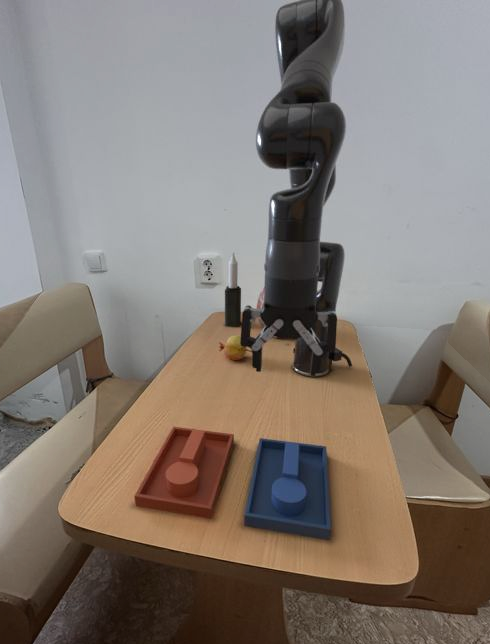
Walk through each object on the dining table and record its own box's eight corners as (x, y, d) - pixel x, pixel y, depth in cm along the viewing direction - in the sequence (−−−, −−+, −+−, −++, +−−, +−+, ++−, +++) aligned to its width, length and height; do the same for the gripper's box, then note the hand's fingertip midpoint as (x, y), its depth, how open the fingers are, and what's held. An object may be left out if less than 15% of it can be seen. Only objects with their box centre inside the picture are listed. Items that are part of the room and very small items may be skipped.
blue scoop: (276, 456, 68) (277, 440, 66) (305, 460, 67) (307, 444, 65) (269, 513, 56) (270, 495, 55) (304, 519, 55) (306, 501, 54)
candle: (238, 327, 129) (239, 254, 119) (224, 326, 130) (224, 253, 120) (241, 322, 134) (242, 251, 123) (227, 321, 135) (227, 250, 124)
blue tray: (259, 446, 71) (259, 437, 70) (325, 455, 69) (326, 446, 68) (244, 525, 55) (244, 515, 54) (329, 540, 53) (331, 529, 52)
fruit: (256, 336, 106) (222, 332, 109) (251, 339, 100) (215, 335, 102) (253, 359, 108) (220, 355, 110) (248, 364, 101) (213, 359, 104)
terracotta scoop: (186, 443, 71) (185, 428, 70) (213, 447, 70) (212, 431, 69) (162, 494, 60) (160, 477, 58) (193, 499, 59) (192, 482, 57)
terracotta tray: (173, 435, 74) (173, 426, 74) (233, 442, 72) (233, 434, 71) (135, 506, 58) (134, 495, 57) (211, 519, 56) (211, 508, 55)
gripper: (341, 266, 55) (329, 364, 62) (245, 263, 57) (244, 358, 64) (346, 279, 48) (332, 387, 55) (237, 275, 50) (237, 379, 57)
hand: (285, 371), depth 59 cm, fingers open, 8 cm apart
